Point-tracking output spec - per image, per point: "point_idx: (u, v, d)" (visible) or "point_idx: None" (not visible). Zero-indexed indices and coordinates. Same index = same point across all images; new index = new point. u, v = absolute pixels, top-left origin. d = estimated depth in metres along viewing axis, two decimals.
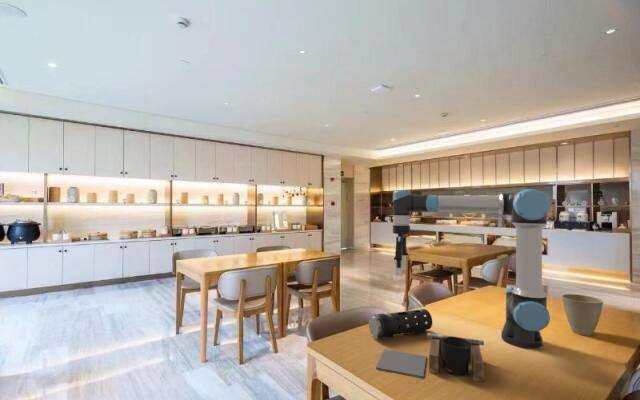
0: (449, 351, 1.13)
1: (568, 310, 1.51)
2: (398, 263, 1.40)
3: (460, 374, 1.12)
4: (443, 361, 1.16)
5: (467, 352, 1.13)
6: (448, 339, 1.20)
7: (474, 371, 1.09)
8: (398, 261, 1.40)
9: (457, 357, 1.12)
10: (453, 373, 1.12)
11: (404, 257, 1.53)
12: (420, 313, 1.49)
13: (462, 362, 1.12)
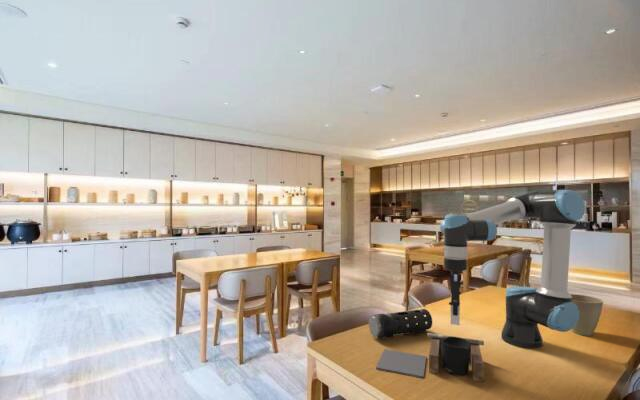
0: (449, 351, 1.13)
1: None
2: (455, 309, 1.09)
3: (460, 374, 1.12)
4: (443, 361, 1.16)
5: (467, 352, 1.13)
6: (448, 339, 1.20)
7: (474, 371, 1.09)
8: (455, 307, 1.09)
9: (457, 356, 1.12)
10: (453, 373, 1.12)
11: None
12: (420, 313, 1.49)
13: (462, 362, 1.12)
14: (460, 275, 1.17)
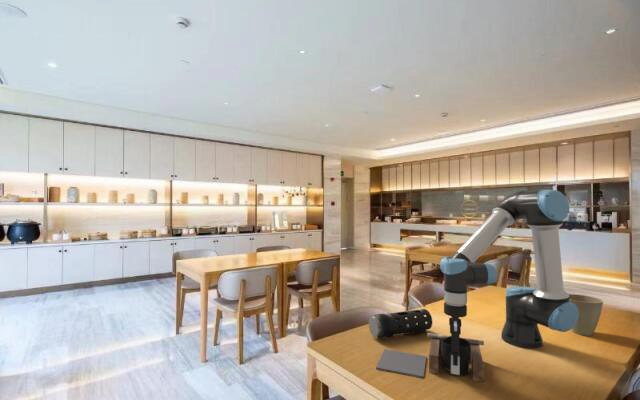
0: (449, 351, 1.13)
1: None
2: (455, 360, 1.10)
3: (460, 374, 1.12)
4: (443, 361, 1.16)
5: (467, 352, 1.13)
6: (448, 339, 1.20)
7: (474, 371, 1.09)
8: (455, 357, 1.10)
9: None
10: None
11: None
12: (420, 313, 1.49)
13: (462, 362, 1.12)
14: (460, 320, 1.17)
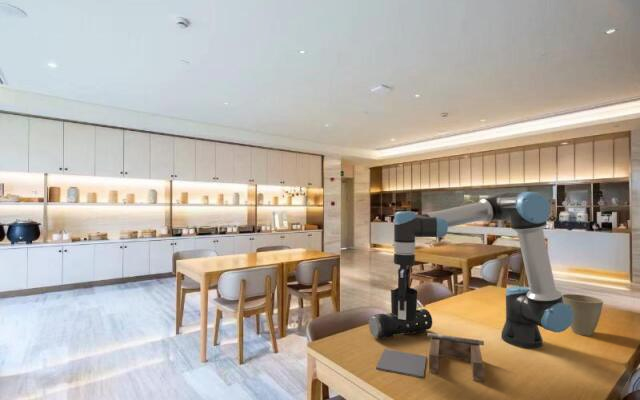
0: (397, 297, 1.18)
1: None
2: (401, 305, 1.15)
3: (407, 319, 1.17)
4: (392, 308, 1.20)
5: (414, 298, 1.17)
6: None
7: (474, 371, 1.09)
8: (401, 302, 1.15)
9: None
10: None
11: None
12: (420, 313, 1.49)
13: (408, 307, 1.17)
14: (409, 269, 1.21)
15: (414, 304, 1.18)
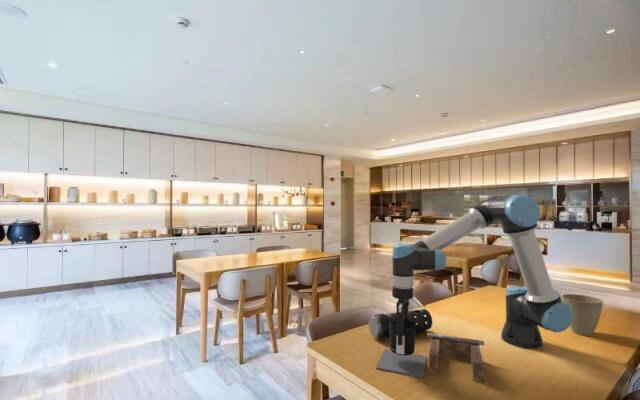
0: (395, 332, 1.18)
1: None
2: (399, 340, 1.15)
3: (405, 354, 1.17)
4: (390, 342, 1.20)
5: (412, 333, 1.17)
6: None
7: (474, 371, 1.09)
8: (399, 337, 1.15)
9: None
10: None
11: None
12: (420, 313, 1.49)
13: (406, 342, 1.17)
14: (407, 302, 1.21)
15: (412, 338, 1.18)
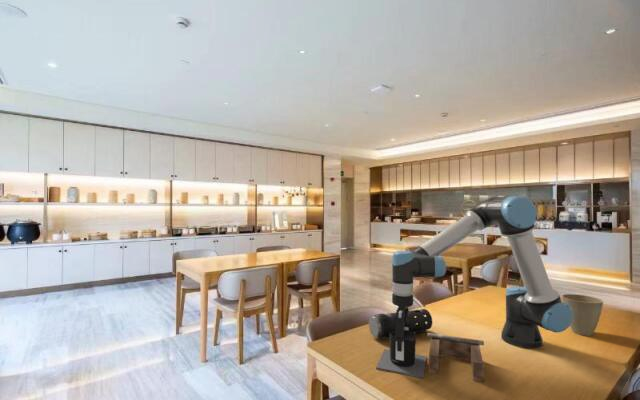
0: (395, 343, 1.18)
1: None
2: (399, 346, 1.13)
3: (405, 365, 1.17)
4: (391, 352, 1.20)
5: (412, 344, 1.17)
6: None
7: (474, 371, 1.09)
8: (399, 343, 1.13)
9: None
10: (399, 364, 1.17)
11: None
12: (420, 313, 1.49)
13: (407, 353, 1.17)
14: (407, 310, 1.21)
15: (413, 349, 1.18)
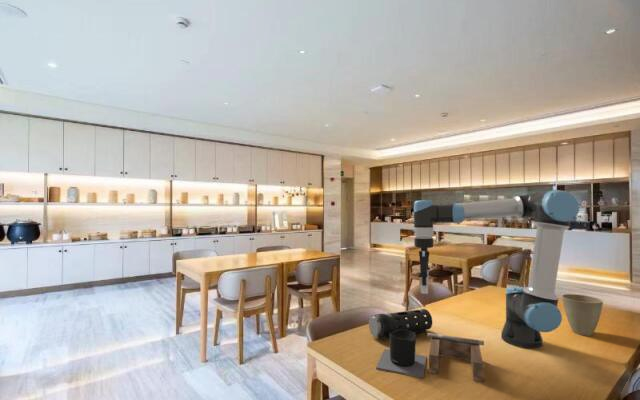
0: (395, 343, 1.18)
1: (568, 310, 1.51)
2: (424, 280, 1.28)
3: (405, 365, 1.17)
4: (390, 353, 1.20)
5: (412, 344, 1.17)
6: (397, 332, 1.25)
7: (474, 371, 1.09)
8: (424, 278, 1.28)
9: (402, 348, 1.17)
10: (399, 364, 1.17)
11: (426, 272, 1.41)
12: (420, 313, 1.49)
13: (407, 353, 1.17)
14: (428, 252, 1.36)
15: (413, 349, 1.18)
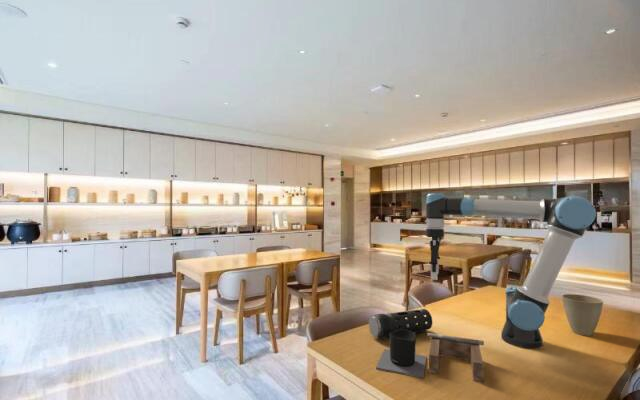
0: (395, 343, 1.18)
1: (568, 310, 1.51)
2: (434, 267, 1.38)
3: (405, 365, 1.17)
4: (391, 353, 1.20)
5: (412, 344, 1.17)
6: (397, 332, 1.25)
7: (474, 371, 1.09)
8: (434, 265, 1.38)
9: (402, 348, 1.17)
10: (399, 364, 1.17)
11: (436, 261, 1.51)
12: (420, 313, 1.49)
13: (407, 353, 1.17)
14: (439, 242, 1.46)
15: (413, 349, 1.18)
